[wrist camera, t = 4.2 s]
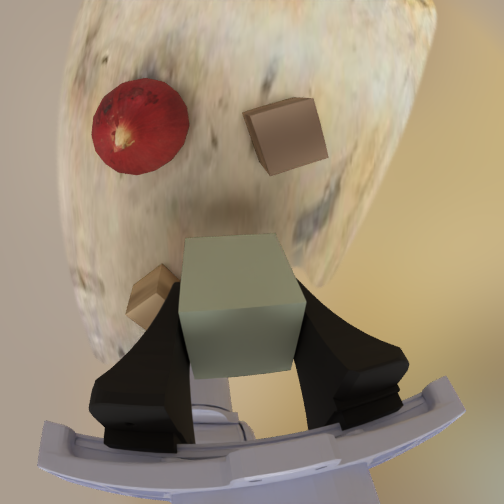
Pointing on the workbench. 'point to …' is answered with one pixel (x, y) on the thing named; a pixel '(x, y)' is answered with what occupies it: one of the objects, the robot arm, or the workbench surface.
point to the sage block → (239, 306)
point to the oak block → (150, 296)
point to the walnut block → (286, 134)
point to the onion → (140, 126)
